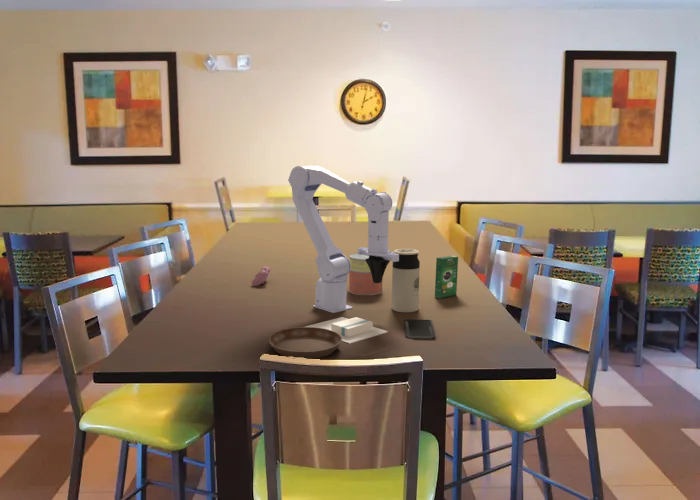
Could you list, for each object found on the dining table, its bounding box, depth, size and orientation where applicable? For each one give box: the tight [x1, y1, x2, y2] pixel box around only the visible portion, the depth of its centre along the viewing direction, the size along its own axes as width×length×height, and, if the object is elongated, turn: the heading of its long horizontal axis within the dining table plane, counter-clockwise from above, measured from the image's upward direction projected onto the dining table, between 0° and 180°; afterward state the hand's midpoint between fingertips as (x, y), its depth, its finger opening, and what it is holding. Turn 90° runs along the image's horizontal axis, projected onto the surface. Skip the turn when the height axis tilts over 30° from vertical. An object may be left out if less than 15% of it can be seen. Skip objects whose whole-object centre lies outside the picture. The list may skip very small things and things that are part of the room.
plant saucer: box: [268, 326, 343, 359], centre depth 152 cm, size 18×18×3 cm
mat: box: [304, 316, 389, 345], centre depth 167 cm, size 18×14×1 cm
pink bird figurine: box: [251, 266, 272, 287], centre depth 219 cm, size 10×5×7 cm, turn 1°
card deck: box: [331, 316, 374, 337], centre depth 165 cm, size 2×9×6 cm
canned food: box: [348, 252, 383, 296], centre depth 208 cm, size 11×11×12 cm
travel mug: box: [391, 248, 421, 314], centre depth 185 cm, size 8×8×18 cm
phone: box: [403, 318, 437, 341], centre depth 167 cm, size 8×1×15 cm
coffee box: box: [434, 255, 459, 299], centre depth 202 cm, size 8×3×13 cm, turn 129°
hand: (377, 282), depth 179 cm, fingers closed
